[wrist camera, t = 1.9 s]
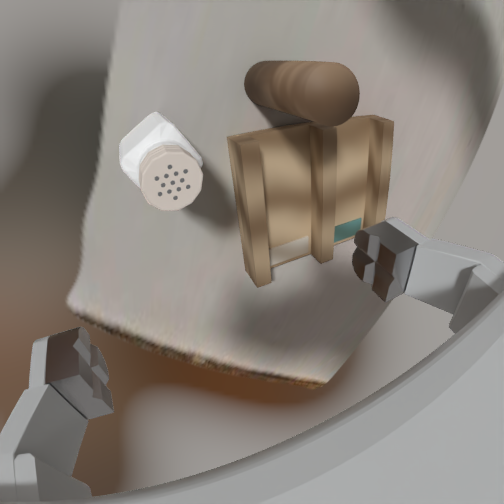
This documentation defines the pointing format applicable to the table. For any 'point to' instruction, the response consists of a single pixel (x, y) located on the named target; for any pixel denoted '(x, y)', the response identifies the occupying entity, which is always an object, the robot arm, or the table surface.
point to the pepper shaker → (162, 163)
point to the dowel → (305, 89)
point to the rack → (308, 188)
